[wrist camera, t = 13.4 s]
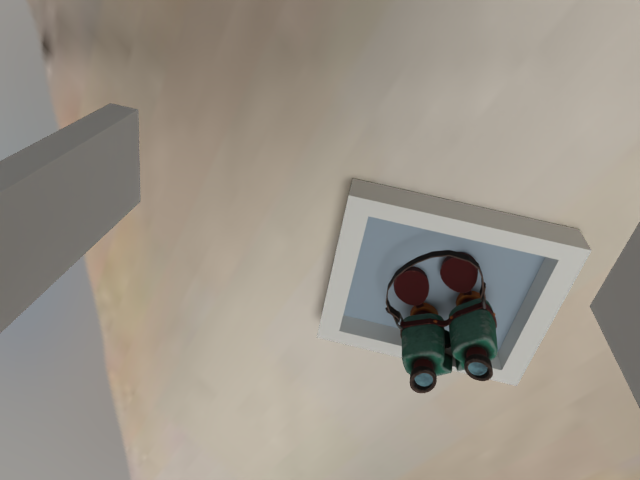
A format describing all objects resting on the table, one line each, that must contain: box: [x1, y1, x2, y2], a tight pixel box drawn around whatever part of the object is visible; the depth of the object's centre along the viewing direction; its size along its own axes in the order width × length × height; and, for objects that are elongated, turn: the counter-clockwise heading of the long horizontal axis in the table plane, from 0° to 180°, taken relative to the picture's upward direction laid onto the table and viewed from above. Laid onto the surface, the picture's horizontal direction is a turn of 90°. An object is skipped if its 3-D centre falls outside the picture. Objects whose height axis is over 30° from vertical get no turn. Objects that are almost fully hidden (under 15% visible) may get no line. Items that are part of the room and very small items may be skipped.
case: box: [317, 178, 592, 386], centre depth 46 cm, size 16×20×4 cm
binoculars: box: [385, 250, 498, 393], centre depth 43 cm, size 9×11×10 cm
